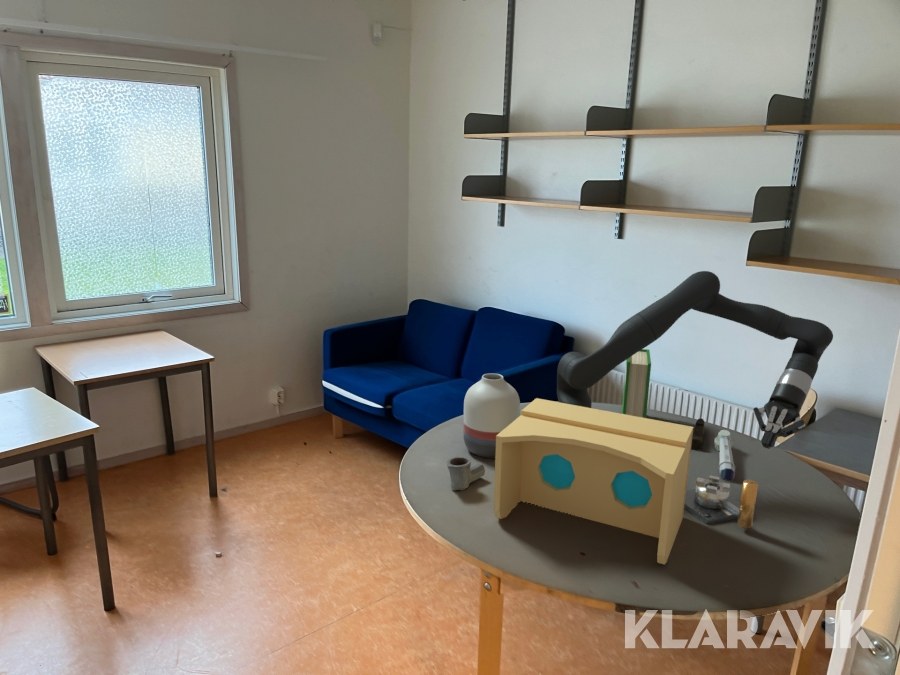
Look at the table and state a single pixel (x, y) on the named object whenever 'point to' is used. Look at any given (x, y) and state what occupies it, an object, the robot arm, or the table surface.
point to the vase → (488, 413)
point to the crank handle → (718, 495)
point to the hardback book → (637, 384)
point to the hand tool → (698, 435)
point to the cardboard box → (596, 468)
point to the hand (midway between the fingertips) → (765, 446)
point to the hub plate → (708, 509)
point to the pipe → (463, 472)
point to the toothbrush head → (725, 455)
